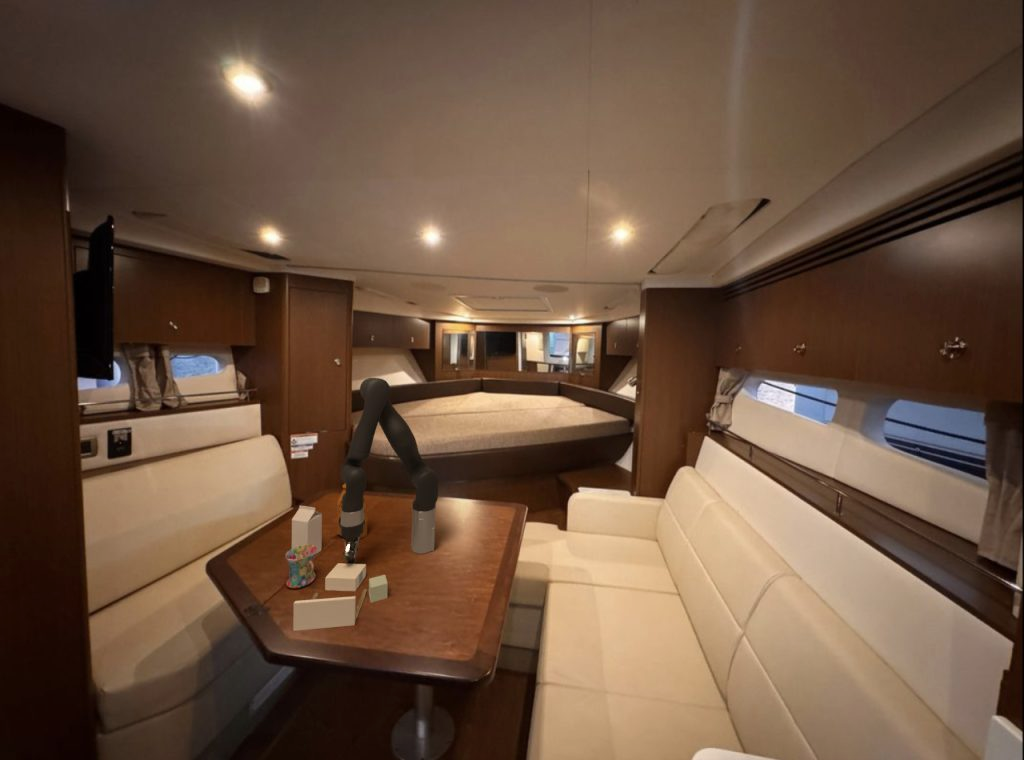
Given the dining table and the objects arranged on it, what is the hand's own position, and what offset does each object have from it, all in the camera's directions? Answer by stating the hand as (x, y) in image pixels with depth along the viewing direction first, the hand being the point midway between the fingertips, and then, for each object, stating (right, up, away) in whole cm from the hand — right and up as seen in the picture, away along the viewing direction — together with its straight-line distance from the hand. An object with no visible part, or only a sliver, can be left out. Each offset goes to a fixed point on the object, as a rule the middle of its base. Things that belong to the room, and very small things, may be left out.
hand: (351, 567), depth 120 cm
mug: (-13, -1, -8) cm, 15 cm away
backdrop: (+5, -3, -25) cm, 26 cm away
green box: (+14, -3, -12) cm, 19 cm away
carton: (+1, -2, -6) cm, 7 cm away
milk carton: (-22, 0, +9) cm, 24 cm away
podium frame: (+3, -2, -18) cm, 18 cm away
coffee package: (-11, 0, +24) cm, 27 cm away
